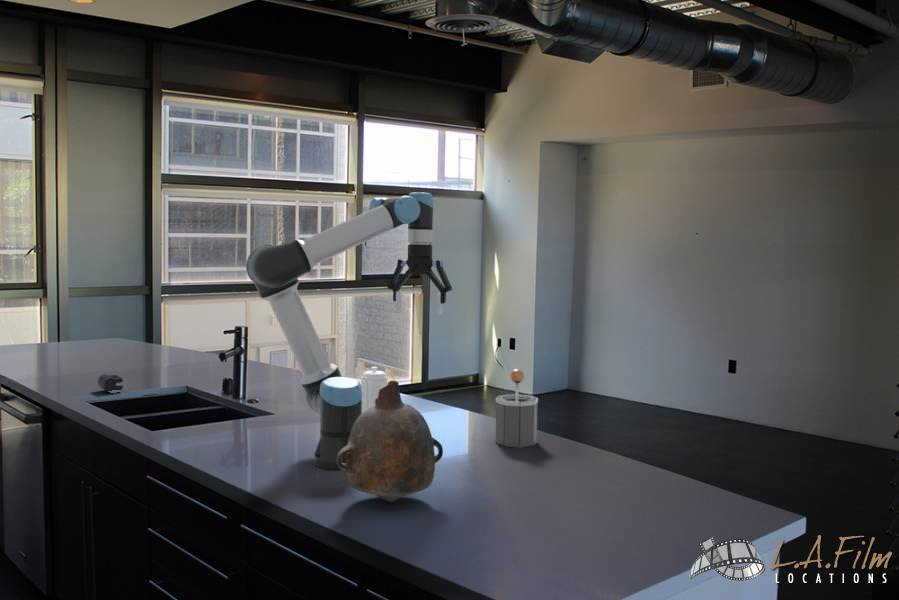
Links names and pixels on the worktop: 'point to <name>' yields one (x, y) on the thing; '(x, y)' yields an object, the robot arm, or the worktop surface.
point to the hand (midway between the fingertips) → (419, 313)
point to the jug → (390, 449)
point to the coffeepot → (372, 386)
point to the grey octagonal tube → (516, 420)
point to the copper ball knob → (517, 380)
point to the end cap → (110, 382)
